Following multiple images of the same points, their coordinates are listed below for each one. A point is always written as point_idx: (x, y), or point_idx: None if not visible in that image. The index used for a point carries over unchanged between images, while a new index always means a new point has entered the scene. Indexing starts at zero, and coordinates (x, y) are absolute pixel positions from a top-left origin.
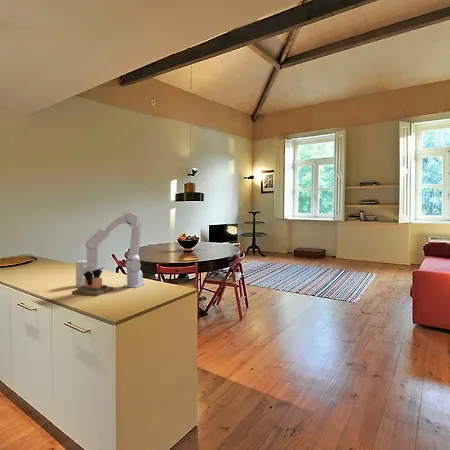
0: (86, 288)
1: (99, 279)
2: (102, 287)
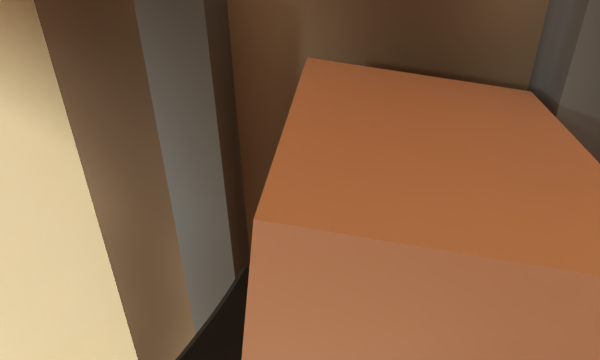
0: None
1: (454, 221)
2: (230, 100)
